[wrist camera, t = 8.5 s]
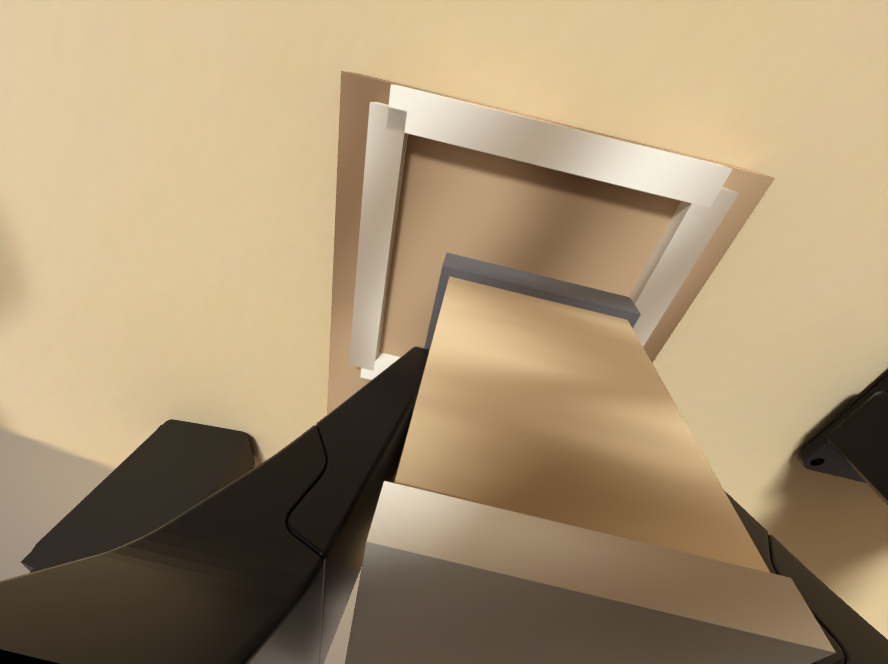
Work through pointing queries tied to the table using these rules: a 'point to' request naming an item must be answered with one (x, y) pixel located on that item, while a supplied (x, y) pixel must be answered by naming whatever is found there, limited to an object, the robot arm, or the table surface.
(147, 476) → the ink cartridge
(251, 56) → the table surface
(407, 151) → the board
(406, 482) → the stamp
